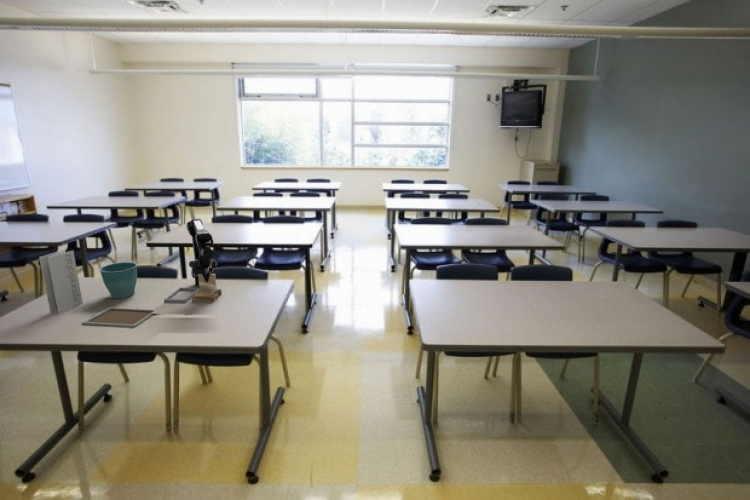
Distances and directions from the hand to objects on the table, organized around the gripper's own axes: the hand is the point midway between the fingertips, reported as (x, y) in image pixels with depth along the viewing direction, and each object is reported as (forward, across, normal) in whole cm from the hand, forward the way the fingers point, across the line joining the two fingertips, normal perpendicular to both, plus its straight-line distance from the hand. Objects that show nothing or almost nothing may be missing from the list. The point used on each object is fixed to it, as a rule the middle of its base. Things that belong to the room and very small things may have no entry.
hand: (207, 281), depth 238 cm
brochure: (+10, +16, -69) cm, 72 cm away
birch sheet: (+6, 0, 0) cm, 6 cm away
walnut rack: (+10, +2, 0) cm, 10 cm away
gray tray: (+10, 0, -14) cm, 18 cm away
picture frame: (+11, +27, -35) cm, 46 cm away
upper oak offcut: (+6, +5, 0) cm, 8 cm away
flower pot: (+10, -4, -51) cm, 52 cm away
